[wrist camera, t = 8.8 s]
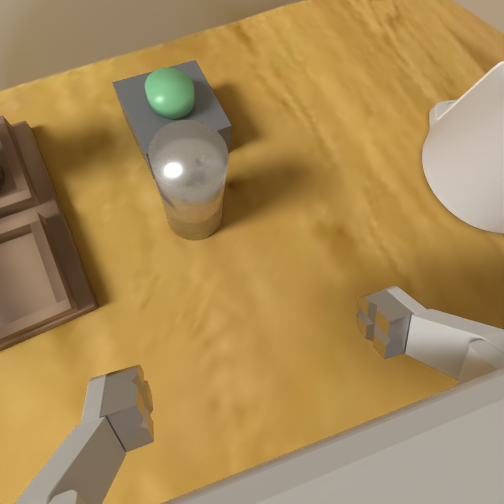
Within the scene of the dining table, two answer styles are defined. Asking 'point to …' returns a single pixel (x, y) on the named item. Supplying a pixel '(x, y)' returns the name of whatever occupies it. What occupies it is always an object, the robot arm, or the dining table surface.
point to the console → (149, 122)
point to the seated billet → (2, 177)
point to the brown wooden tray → (35, 246)
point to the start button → (170, 92)
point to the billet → (190, 176)
